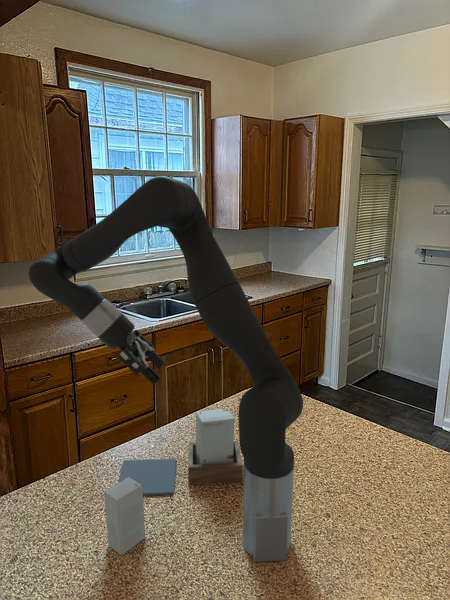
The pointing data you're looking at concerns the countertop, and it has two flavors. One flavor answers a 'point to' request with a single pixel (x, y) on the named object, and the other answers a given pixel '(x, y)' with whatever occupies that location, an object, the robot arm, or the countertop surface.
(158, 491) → the slate mat
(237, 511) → the countertop surface
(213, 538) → the countertop surface
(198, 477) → the holder collar
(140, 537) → the skincare box
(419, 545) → the countertop surface
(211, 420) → the skincare box
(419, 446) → the countertop surface
